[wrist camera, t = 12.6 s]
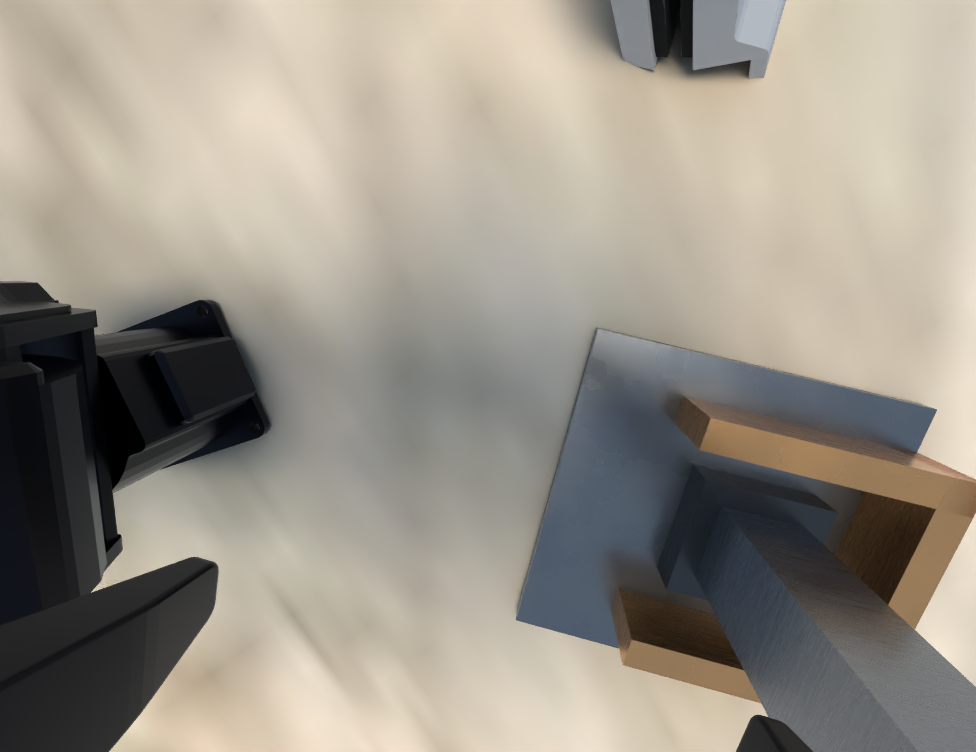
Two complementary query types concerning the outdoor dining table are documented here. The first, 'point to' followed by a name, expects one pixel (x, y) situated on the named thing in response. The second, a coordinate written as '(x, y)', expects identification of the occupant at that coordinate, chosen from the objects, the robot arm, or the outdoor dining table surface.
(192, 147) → the outdoor dining table surface
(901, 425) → the keeper cradle
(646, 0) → the hinge
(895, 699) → the grey piece
